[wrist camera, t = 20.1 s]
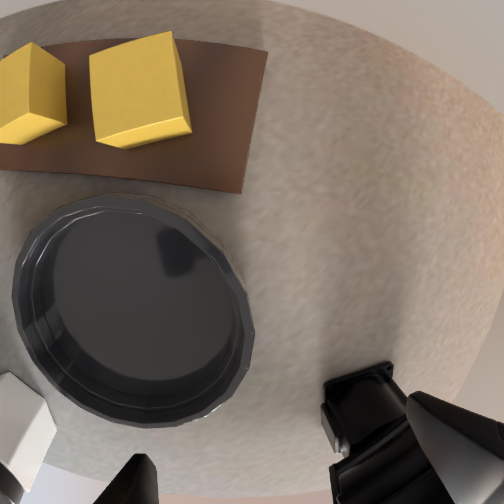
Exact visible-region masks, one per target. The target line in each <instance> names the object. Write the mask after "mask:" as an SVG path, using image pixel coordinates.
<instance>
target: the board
mask: <svg viewBox="0 0 504 504" xmlns="http://www.w3.org/2000/svg"><path fill="white" fill-rule="evenodd" d="M136 39H140V38H125V39H103V40H90V41H80V42H72V43H64V44H57V45H51V46H45V47H41V48H42V49H43V50H45V51H46V52H48V53H49V54H51V55H52V56H54V57H55V58H57V59H58V60H60V61H61V62H63V63H64V64H65V88H66V109H67V123H68V124H67V125H65V126H63V127H60V128H58V129H55V130H53V131H51V132H48V133H46V134H44V135H42V136H40V137H37V138H35V139H33V140H31V141H29V142H27V143H25V144H23V145H18V144H7V143H0V170H21V171H41V172H57V173H71V174H83V175H95V176H106V177H116V178H125V179H134V180H143V181H152V182H160V183H168V184H175V185H183V186H190V187H197V188H204V189H210V190H217V191H223V192H230V193H236V194H241V193H242V187H243V181H244V176H245V170H246V164H247V159H248V154H249V148H250V143H251V137H252V132H253V127H254V121H255V116H256V111H257V106H258V100H259V95H260V90H261V85H262V80H263V75H264V70H265V65H266V60H267V55H268V52H265V51H260V50H255V49H250V48H244V47H239V46H232V45H226V44H218V43H210V42H201V41H191V40H177V39H174V41H175V45H176V48H177V51H178V54H179V58H180V61H181V64H182V71H183V78H184V84H185V91H186V97H187V104H188V110H189V116H190V122H191V128H192V133H191V134H187V135H182V136H177V137H173V138H169V139H164V140H160V141H156V142H152V143H148V144H145V145H141V146H137V147H134V148H130V149H126V150H125V149H122V148H118V147H115V146H111V145H108V144H104V143H101V142H97V141H96V138H95V130H94V121H93V111H92V100H91V86H90V65H89V56H90V55H92V54H95V53H97V52H100V51H103V50H105V49H108V48H111V47H114V46H117V45H120V44H123V43H126V42H130V41H133V40H136ZM9 55H10V54H9ZM9 55H5V56H4V57H3V59H4V58H5V57H7V56H9Z"/></svg>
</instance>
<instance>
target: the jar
mask: <svg viewBox="0 0 504 504" xmlns="http://www.w3.org/2000/svg"><path fill="white" fill-rule="evenodd" d="M56 431H57V428H56V425H55V423H54V420H53V418H52V416H51V413H50V411H49V408H48V405H47V403H46V400H45V399H44V398H43V397H42V396H40V395H39V394H37V393H36V392H35V391H33V390H32V389H31V388H29V387H28V386H27V385H26V384H24V383H23V382H22V381H21V380H19V379H18V378H17V377H16V376H14V375H13V374H12V373H11V372H7V373H5V374H2V375H0V504H19V503H20V501H21V498H22V495H23V493H24V492H27V493H28V492H30V489H31V487H32V484H33V482H34V479H35V477H36V474H37V472H38V470H39V468H40V465H41V463H42V461H43V459H44V456H45V454H46V452H47V450H48V448H49V446H50V444H51V441H52V439H53V437H54V435H55V433H56Z"/></svg>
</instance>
